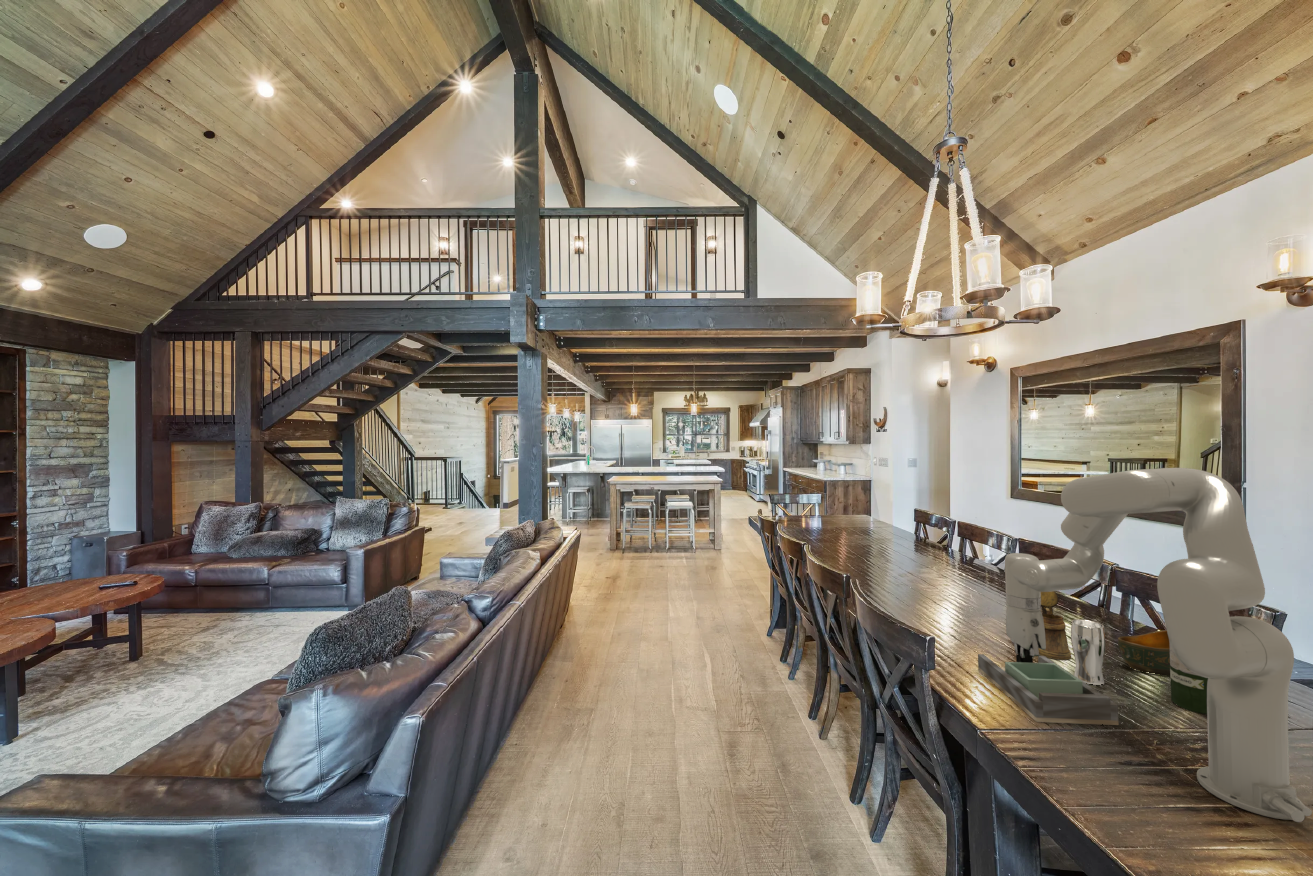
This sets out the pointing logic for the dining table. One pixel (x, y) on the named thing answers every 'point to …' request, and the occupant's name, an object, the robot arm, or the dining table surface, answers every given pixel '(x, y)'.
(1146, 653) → the green gold bowl
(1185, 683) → the wine bottle
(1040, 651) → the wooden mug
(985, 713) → the dining table surface
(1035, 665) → the box
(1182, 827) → the dining table surface
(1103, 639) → the beer glass
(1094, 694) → the bay
